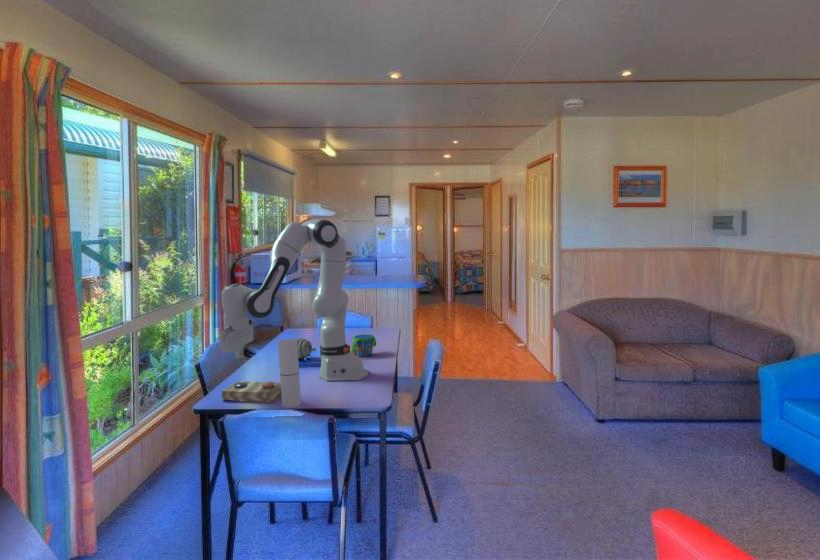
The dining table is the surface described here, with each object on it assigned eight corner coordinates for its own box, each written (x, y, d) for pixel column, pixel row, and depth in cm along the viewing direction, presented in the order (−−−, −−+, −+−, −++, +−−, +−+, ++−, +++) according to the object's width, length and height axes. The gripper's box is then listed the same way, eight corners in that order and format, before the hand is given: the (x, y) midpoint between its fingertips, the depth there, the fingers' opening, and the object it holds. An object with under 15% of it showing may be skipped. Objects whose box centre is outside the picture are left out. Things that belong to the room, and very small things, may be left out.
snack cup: (369, 350, 273) (369, 332, 272) (382, 354, 265) (382, 335, 264) (346, 357, 262) (345, 337, 261) (359, 360, 254) (358, 340, 253)
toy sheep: (291, 356, 267) (290, 335, 266) (321, 357, 263) (319, 336, 261) (281, 362, 257) (280, 340, 256) (312, 363, 253) (310, 341, 251)
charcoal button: (249, 392, 210) (248, 382, 210) (243, 396, 206) (243, 386, 205) (238, 392, 211) (238, 382, 211) (232, 396, 207) (232, 386, 206)
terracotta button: (276, 391, 208) (275, 381, 208) (271, 395, 204) (270, 385, 203) (265, 391, 209) (264, 381, 209) (260, 395, 204) (259, 385, 204)
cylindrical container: (283, 408, 193) (279, 344, 189) (280, 402, 199) (276, 340, 196) (302, 405, 195) (298, 341, 192) (298, 399, 202) (295, 338, 199)
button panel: (286, 392, 211) (285, 382, 211) (273, 402, 200) (272, 392, 199) (237, 390, 215) (237, 381, 215) (222, 400, 204) (221, 391, 203)
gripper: (229, 329, 194) (233, 364, 196) (254, 319, 214) (258, 351, 216) (214, 330, 196) (218, 365, 197) (241, 319, 216) (244, 351, 217)
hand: (239, 357), depth 207 cm, fingers closed
